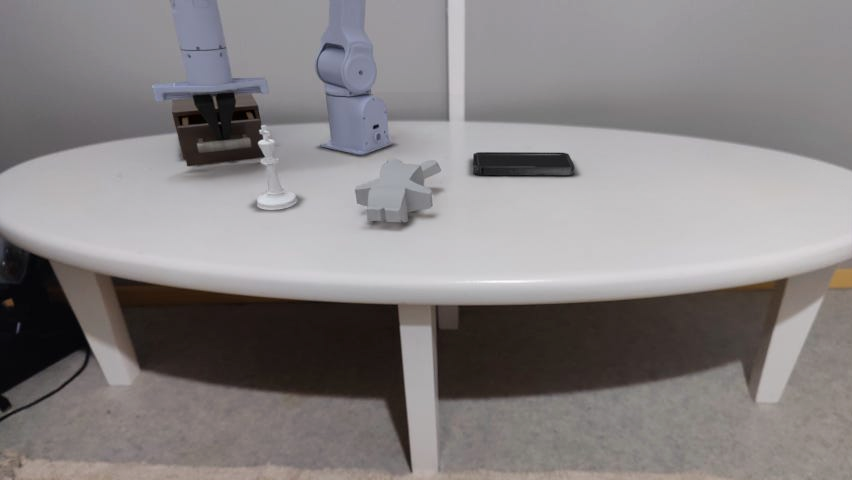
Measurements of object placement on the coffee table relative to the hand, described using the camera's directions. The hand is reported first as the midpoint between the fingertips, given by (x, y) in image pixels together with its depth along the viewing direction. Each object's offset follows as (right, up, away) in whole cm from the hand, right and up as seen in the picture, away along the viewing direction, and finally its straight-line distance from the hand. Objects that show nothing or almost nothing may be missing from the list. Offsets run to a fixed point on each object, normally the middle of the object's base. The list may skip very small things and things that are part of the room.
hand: (224, 147), depth 82 cm
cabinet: (-7, +4, +15) cm, 17 cm away
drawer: (-3, +1, +7) cm, 7 cm away
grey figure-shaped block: (+27, -10, -10) cm, 30 cm away
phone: (+44, -2, +4) cm, 44 cm away
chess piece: (+11, -9, -9) cm, 17 cm away
